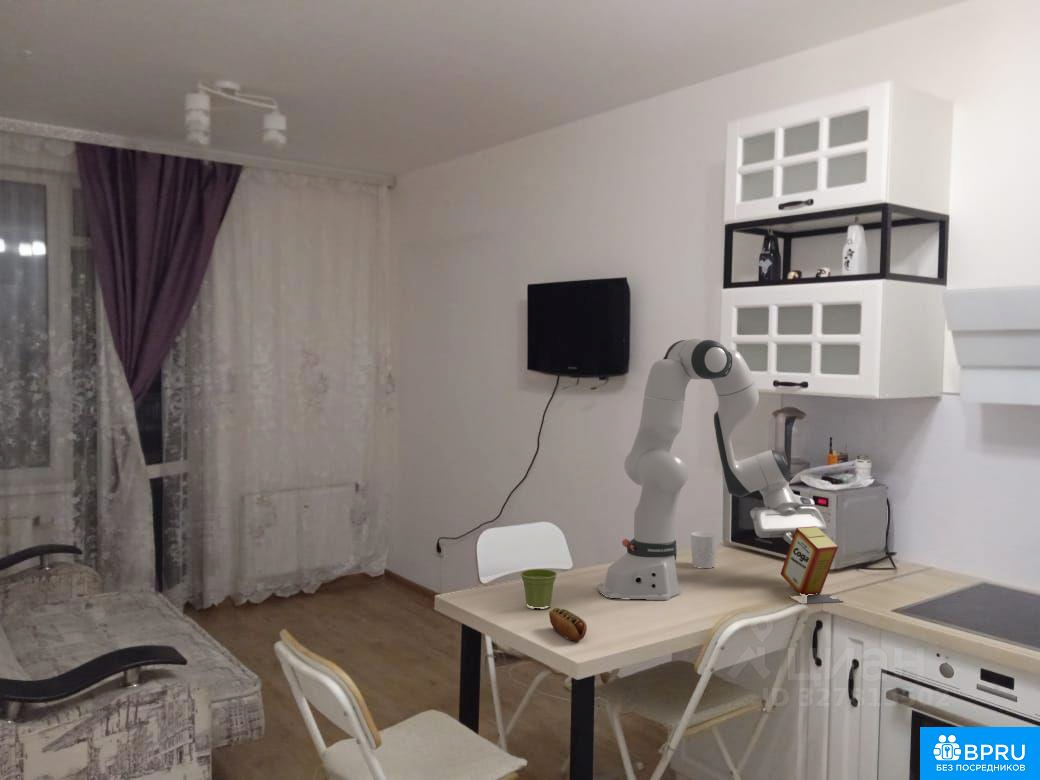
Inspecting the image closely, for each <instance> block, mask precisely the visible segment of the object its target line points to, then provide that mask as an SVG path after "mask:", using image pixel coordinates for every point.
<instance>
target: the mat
mask: <svg viewBox="0 0 1040 780" xmlns="http://www.w3.org/2000/svg"><path fill="white" fill-rule="evenodd" d="M830 596H833V595H832V594H829V593H828V594H826V593H823V594H814V595H808V596H807V604H806V605H811V604H813V605H814V604H833V603H844V601H843V600H842V601H840V600H841V599H840V598H838V599H832V598H830ZM839 599H840V600H839Z"/></svg>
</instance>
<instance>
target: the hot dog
mask: <svg viewBox="0 0 1040 780" xmlns="http://www.w3.org/2000/svg"><path fill="white" fill-rule="evenodd" d="M548 613H549V614H548V617H549V621H550V625H551V626H552V628H553V629H554V631H556V632H557V631H558V632H559V633H560V634H559V633H558V632H557V633H558V634H559V635H561V634H562V635H563V636H562V635H561V636H562V637H564V636H565V637H567V638H568V640H569V639H570V641H572V640H575V641H574V642H579V641H581V640H582V639H584V637H585V636H586V633H587V629H588V627H587V623H586V621H585V620H584V619H583V618H582V617H580V616H579V615H577V614H576V613H574V612H571V611H570V610H568V609H563V608H559V607H555V608H553V609H552V610H550V611H549V612H548ZM565 637H564V638H565ZM567 638H566V639H567Z"/></svg>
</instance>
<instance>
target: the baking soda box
mask: <svg viewBox="0 0 1040 780" xmlns="http://www.w3.org/2000/svg"><path fill="white" fill-rule="evenodd" d="M789 545H790V544H789ZM838 549H839V546H838V545H837V544H836V543H835V542H834V541H833V540H831V539H830V538H829V537H828V536H827V534H825V532H824V533H823V532H822V531H821V530H820V529H819V528H817V527H816V526H811V527H799V528H796V531H795V534H794V536H792V542H791V545H790V546H789V548H788V551H787V554H786V557H785V559H784V563H783V565H782V568H781V572H780V575H781V577H783V579H785V581H786V582H787V583H788V584H789V585H790V587H791V588H793V590H794V591H796V592H797V593H798V594H799V593H801V594H805V595H808V594H814V595H817V594H816V593H822V591H823V588H824V586H825V583H826V581H827V580H826V579H827V578H828V575H829V573H830V569H831V567H832V565H833V561H834V560H835V557H836V553H837V551H838Z"/></svg>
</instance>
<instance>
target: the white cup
mask: <svg viewBox="0 0 1040 780" xmlns="http://www.w3.org/2000/svg"><path fill="white" fill-rule="evenodd" d="M717 537H718V535H717V533H714V532H709V531H694V532H691V533H690V543H691V544H690V546H691V547H690V549H691V560H692V561H691V563H692V564H691V565H693V566H696V567H701V568H710V569H713V568H712V567H714V566H715V564H716V558H717V557H716V555H717V541H718V539H717ZM693 566H692V567H693ZM696 567H695V568H696ZM701 568H700V569H701ZM714 568H715V567H714Z"/></svg>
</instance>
